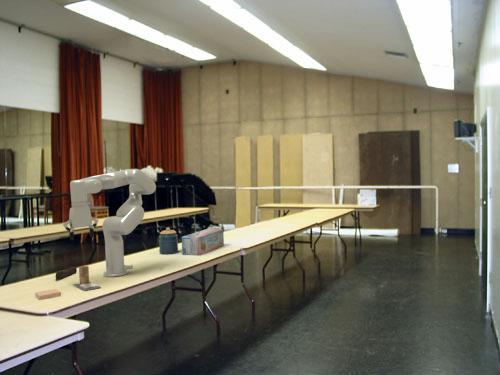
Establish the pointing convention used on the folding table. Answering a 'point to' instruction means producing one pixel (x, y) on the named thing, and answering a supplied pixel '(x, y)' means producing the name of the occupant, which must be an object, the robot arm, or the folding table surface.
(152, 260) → the folding table surface
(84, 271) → the block on white plate
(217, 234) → the soda box
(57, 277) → the dark brown bar
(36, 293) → the tile
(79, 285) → the mat
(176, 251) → the canister
